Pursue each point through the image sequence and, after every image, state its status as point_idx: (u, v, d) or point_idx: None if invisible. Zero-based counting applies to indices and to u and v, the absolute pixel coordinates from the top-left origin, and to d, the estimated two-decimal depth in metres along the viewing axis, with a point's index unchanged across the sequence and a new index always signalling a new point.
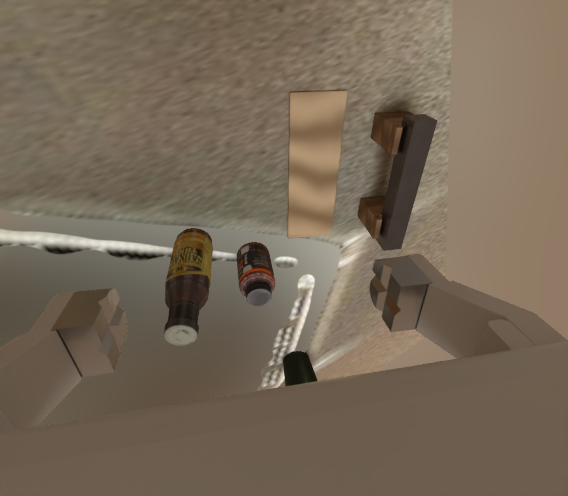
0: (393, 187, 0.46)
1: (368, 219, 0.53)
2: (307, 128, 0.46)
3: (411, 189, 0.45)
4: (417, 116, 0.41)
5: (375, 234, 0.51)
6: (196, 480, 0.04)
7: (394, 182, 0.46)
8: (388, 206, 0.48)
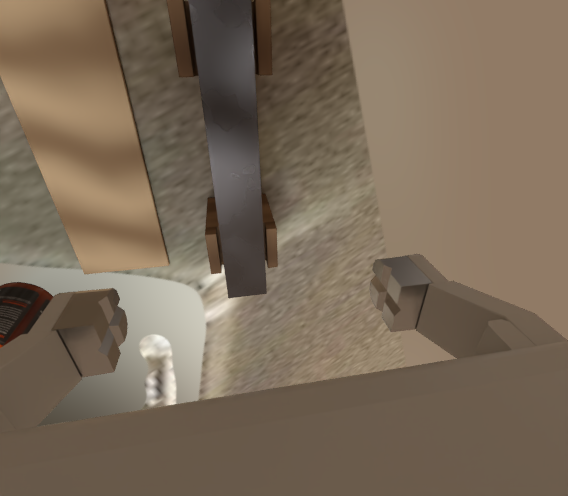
0: None
1: None
2: (28, 41, 0.21)
3: (243, 161, 0.20)
4: None
5: (212, 265, 0.25)
6: (196, 480, 0.04)
7: None
8: None
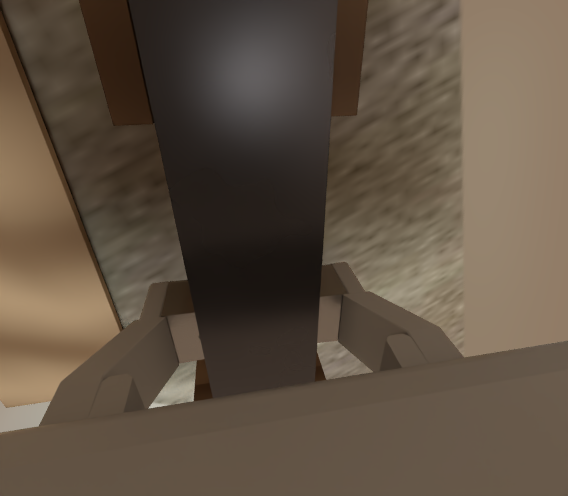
0: None
1: None
2: None
3: (281, 323, 0.08)
4: None
5: None
6: (195, 480, 0.04)
7: None
8: None
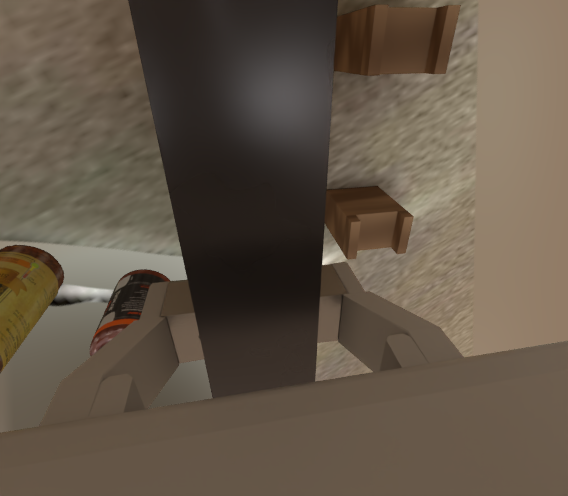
0: None
1: (338, 224, 0.29)
2: None
3: (281, 325, 0.08)
4: None
5: (350, 251, 0.27)
6: (196, 480, 0.04)
7: None
8: None
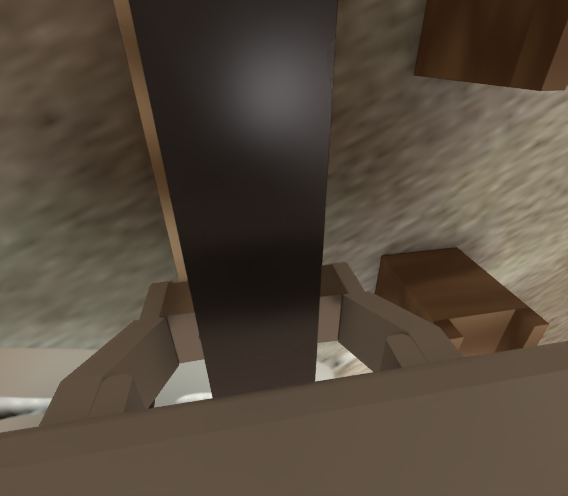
0: None
1: None
2: None
3: (281, 325, 0.08)
4: None
5: None
6: (195, 480, 0.04)
7: None
8: None
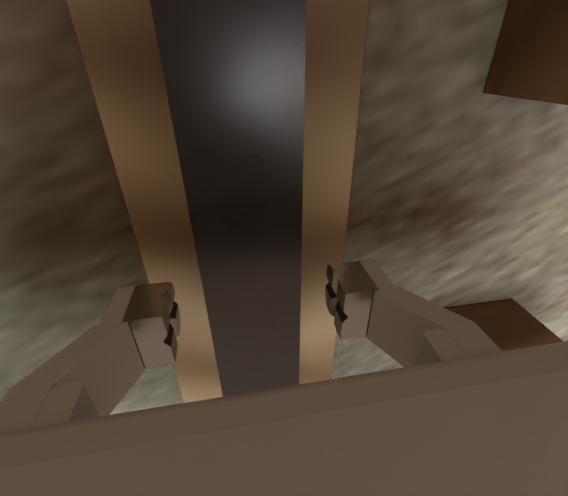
0: None
1: None
2: None
3: (270, 277, 0.10)
4: None
5: None
6: (195, 480, 0.04)
7: None
8: None
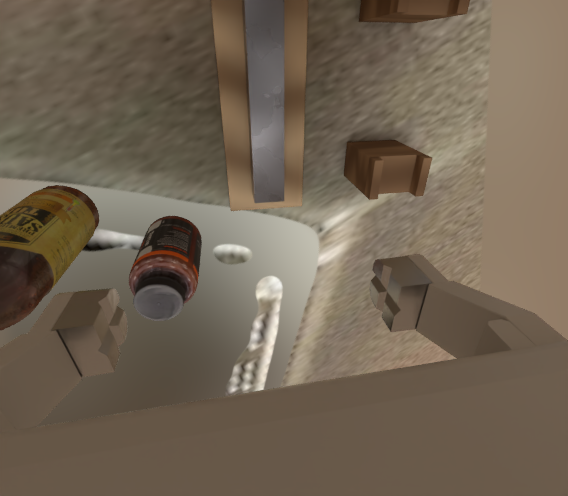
0: (247, 85, 0.28)
1: (359, 169, 0.31)
2: None
3: (272, 83, 0.27)
4: None
5: (372, 190, 0.29)
6: (196, 480, 0.04)
7: (247, 74, 0.27)
8: (249, 124, 0.29)
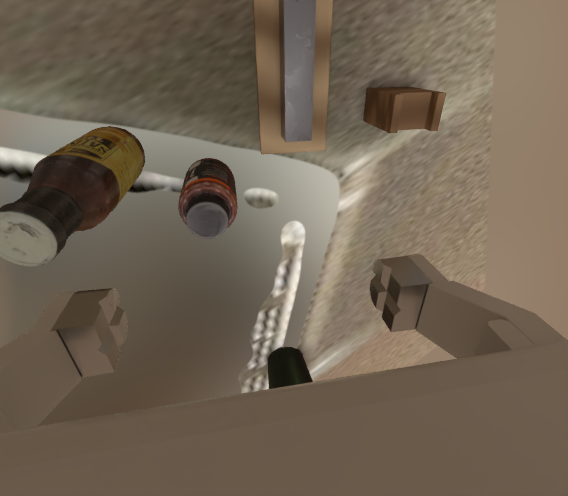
0: (281, 29, 0.31)
1: (380, 109, 0.35)
2: None
3: (305, 25, 0.30)
4: None
5: (393, 124, 0.33)
6: (196, 481, 0.04)
7: (281, 19, 0.31)
8: (282, 66, 0.33)
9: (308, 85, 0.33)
